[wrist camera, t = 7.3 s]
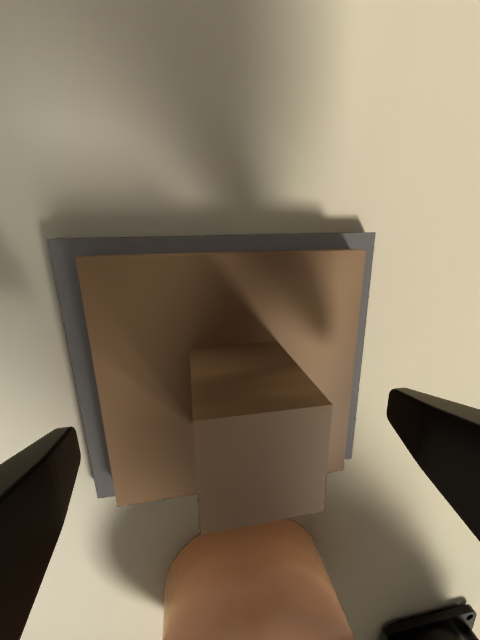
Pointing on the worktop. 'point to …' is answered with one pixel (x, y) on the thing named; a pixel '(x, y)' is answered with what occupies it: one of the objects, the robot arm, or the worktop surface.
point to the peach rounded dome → (252, 588)
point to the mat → (71, 248)
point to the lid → (225, 376)
